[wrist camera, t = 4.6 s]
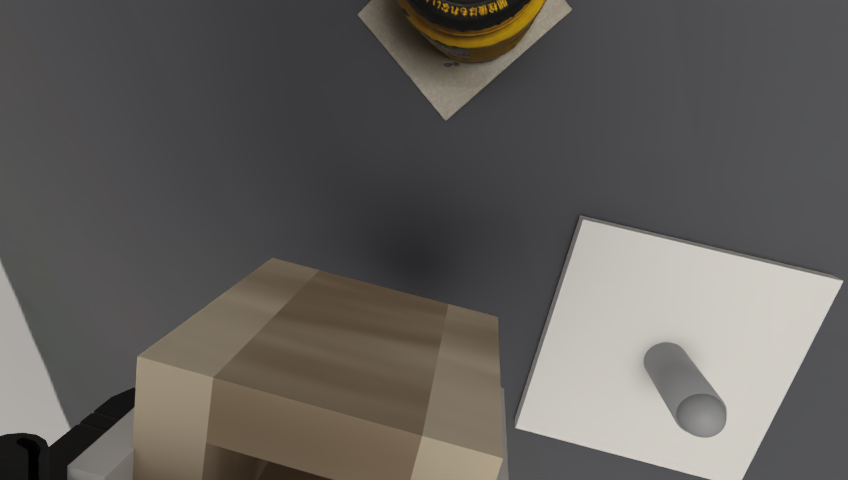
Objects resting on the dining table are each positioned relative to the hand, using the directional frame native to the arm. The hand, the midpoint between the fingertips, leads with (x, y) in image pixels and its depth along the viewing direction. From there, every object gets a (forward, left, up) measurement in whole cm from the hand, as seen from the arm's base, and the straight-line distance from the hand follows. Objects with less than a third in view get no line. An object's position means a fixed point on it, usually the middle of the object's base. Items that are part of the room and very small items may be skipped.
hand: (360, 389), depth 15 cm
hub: (+3, +15, -15) cm, 22 cm away
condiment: (-13, -1, -15) cm, 20 cm away
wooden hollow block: (0, 0, 0) cm, 0 cm away
